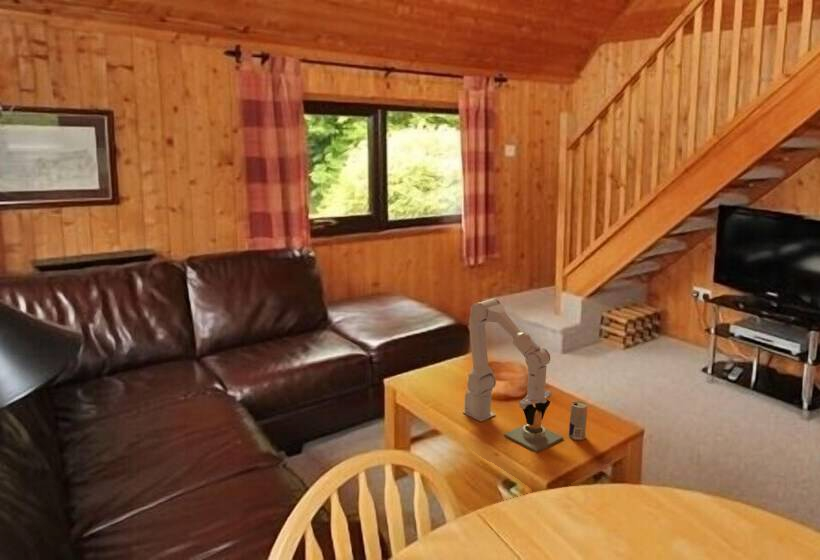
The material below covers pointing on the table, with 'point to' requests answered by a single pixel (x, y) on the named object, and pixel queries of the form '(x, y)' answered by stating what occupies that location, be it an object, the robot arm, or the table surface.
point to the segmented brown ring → (533, 436)
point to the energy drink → (578, 420)
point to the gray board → (533, 445)
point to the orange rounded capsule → (536, 420)
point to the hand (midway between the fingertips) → (534, 421)
